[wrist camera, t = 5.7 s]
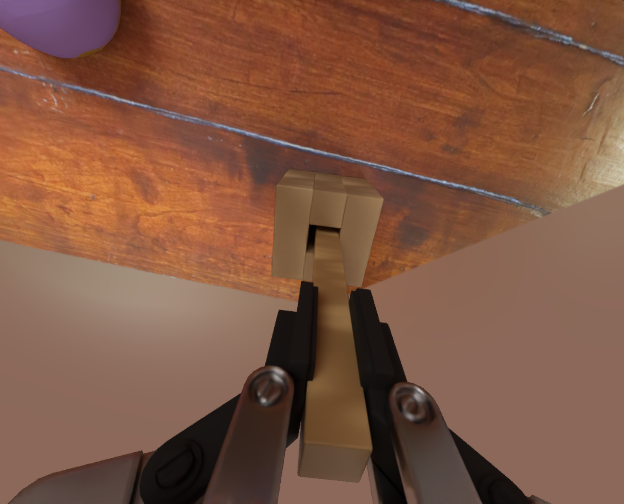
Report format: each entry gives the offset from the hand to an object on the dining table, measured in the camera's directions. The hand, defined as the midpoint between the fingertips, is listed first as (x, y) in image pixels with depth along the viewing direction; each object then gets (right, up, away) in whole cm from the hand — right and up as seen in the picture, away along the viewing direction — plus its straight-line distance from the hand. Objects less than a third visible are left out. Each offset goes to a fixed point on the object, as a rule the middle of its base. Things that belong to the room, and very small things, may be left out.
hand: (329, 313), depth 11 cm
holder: (0, +7, +13) cm, 15 cm away
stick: (0, +6, +11) cm, 13 cm away
